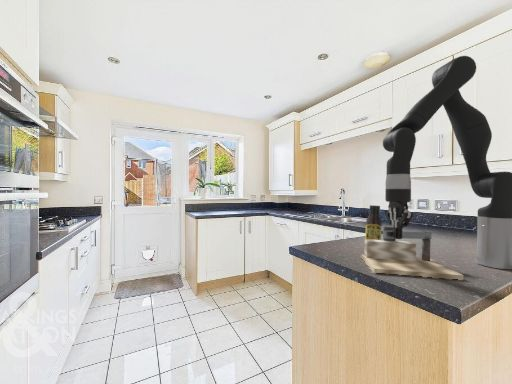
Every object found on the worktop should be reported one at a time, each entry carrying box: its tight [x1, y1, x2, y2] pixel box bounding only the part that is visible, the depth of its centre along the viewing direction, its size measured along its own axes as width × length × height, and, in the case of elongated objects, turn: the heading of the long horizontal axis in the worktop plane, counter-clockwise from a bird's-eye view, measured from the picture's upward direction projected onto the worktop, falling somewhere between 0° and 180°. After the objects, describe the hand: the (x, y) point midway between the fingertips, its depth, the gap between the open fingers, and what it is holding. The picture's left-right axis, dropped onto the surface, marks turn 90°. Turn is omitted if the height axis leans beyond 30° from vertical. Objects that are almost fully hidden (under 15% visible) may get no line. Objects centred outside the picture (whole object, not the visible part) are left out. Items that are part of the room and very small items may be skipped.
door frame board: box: [360, 226, 464, 281], centre depth 80 cm, size 24×18×12 cm
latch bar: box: [382, 230, 432, 240], centre depth 84 cm, size 16×3×2 cm, turn 92°
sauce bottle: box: [364, 204, 383, 240], centre depth 104 cm, size 6×6×20 cm
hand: (397, 238), depth 81 cm, fingers closed
